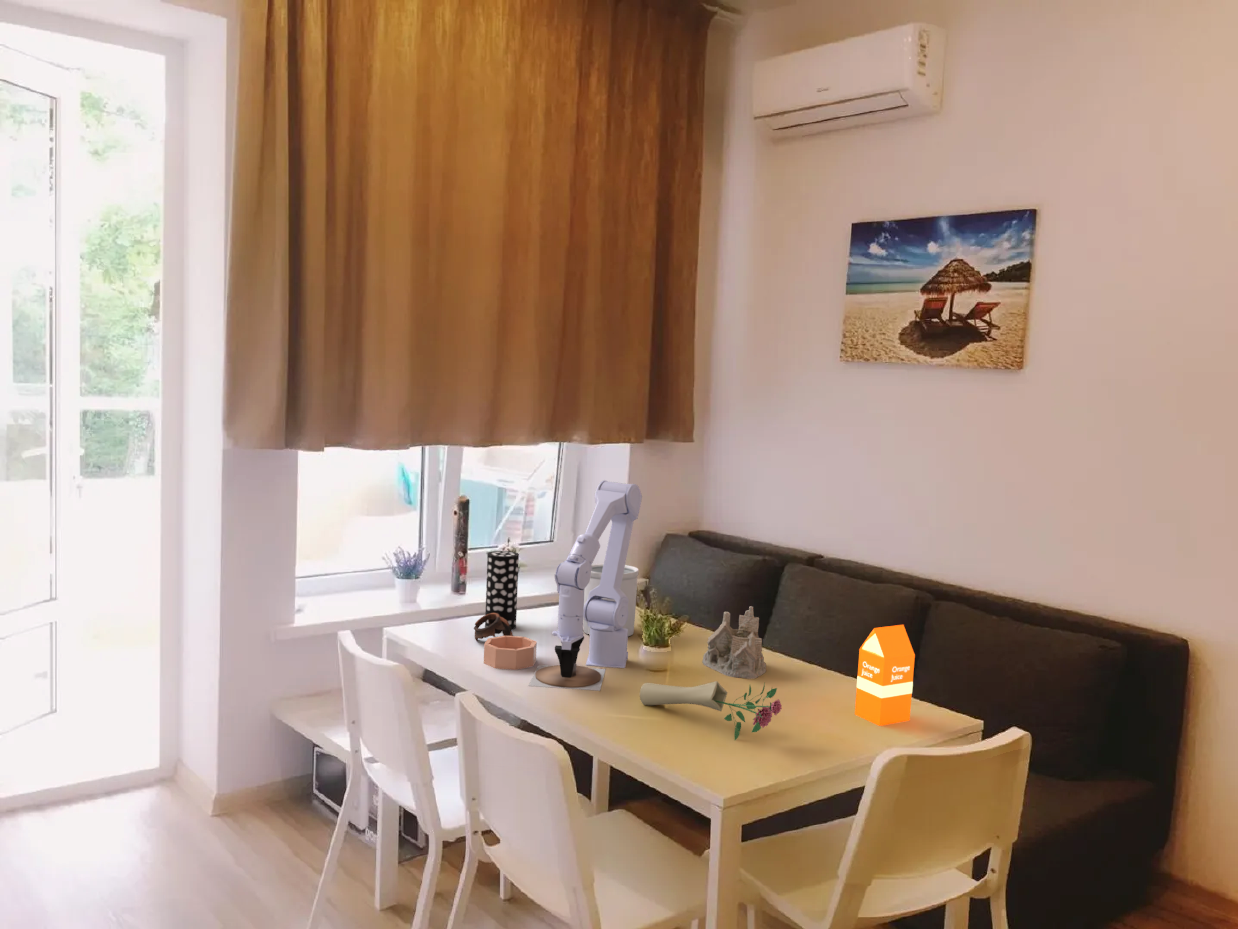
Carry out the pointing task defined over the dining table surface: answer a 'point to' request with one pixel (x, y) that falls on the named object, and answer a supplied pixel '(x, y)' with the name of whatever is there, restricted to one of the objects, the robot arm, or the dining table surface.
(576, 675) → the walnut lid
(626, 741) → the dining table surface
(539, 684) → the grey mat
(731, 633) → the ceramic cottage
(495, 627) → the brown openwork ring
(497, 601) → the white-spotted black cylinder
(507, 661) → the terracotta bowl
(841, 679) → the dining table surface
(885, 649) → the orange juice
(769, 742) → the dining table surface
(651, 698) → the flower vase
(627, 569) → the utensil holder
